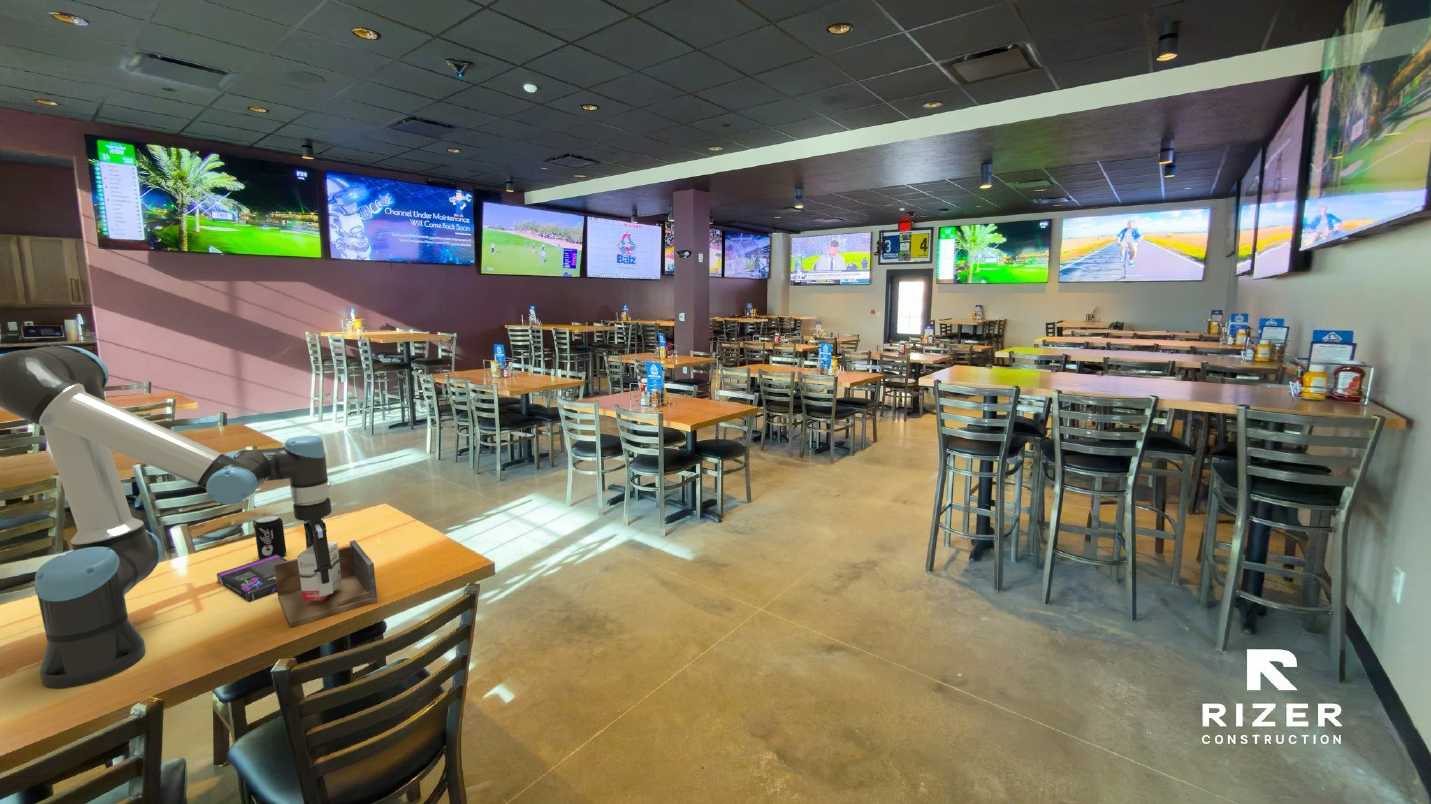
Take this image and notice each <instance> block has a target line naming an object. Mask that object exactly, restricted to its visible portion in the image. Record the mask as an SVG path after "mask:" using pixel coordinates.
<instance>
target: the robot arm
mask: <svg viewBox="0 0 1431 804" xmlns="http://www.w3.org/2000/svg"><path fill="white" fill-rule="evenodd" d="M108 381H109V371H108V368H107V366H106V364H105V363H104V361H103V359H101V358H100V357H98V356H97V355H96V354H94V353H93V352H91V351H88V350H87V349H85V348H81V347H77V346H71V345H49V346H44V347H38V348H32V349H27V350H26V349H21V350H15V351H10V352H7V353H6V352H5V354H1V355H0V408H2V409H3V410H5V411H6V412H9V413H11V414H13V415H15V416H17V417H19V418H21V419H23V420H26V421H28V422H30V423H33V424H36V425H38V426H40V427H42V429H43V432H44V434H45V438H46V440H47V444H48V446H49V450H50V453H51V456H52V458H53V463H54V465H55V468H56V470H57V473H58V476H59V479H60V482H61V484H62V487H63V491H64V493H65V497H66V500H67V503H68V506H69V508H70V512H71V514H72V517H73V520H74V523H75V526H76V529H77V531H76V533H75V535H73V537H72V538H71V539H70V544H71V547H72V551H68V552H65V554H63V555H62V554H61V555H57V556H55V557H53V558H52V559H49V560H48V561H46V562H45V563H43V564H42V565H41V566H39V568H38V569H37V571H36V572H35V575H34V580H35V582H34V583H35V585H34V589H35V590H34V591H35V594H36V596H37V601H38V605H39V609H40V615H41V618H42V624H43V628H44V634H45V638H46V646H45V649H44V654H43V658H42V661H41V665H40V669H39V675H40V680H41V684H42V685H43V686H45V687H46V688H47V687H48V688H54V689H59V688H61V689H62V688H63V689H64V688H70V687H71V688H72V687H76V686H82V685H86V684H89V683H90V684H91V683H93V682H96V681H100V680H102V679H106V678H108V677H110V676H113V675H115V674H117V673H119V672H120V673H121V672H122V671H124V670H125V669H128V668H130V667H131V666H133V665H134V664H136V663H137V662H139V660H141V659H142V658H143V657H144V655H145V653H146V651H147V648H146V643H145V640H144V638H143V637H142V636H141V634H140V633H139V631H138V630H137V628H135V626H134V625H133V623H132V622H131V620H130V619H129V616H128V615H129V614H128V609H127V604H126V598H125V595H126V594H127V593H129V592H130V591H131V590H132V589H134V588H135V587H136V585H138V584H139V583H140V582H142V581H143V580H145V579H147V578H148V577H149V576H150V575H151V574H152V573H153V572H154V570H155V569H156V567H157V566H158V565H159V563H160V561H161V559H162V555H163V546H162V543H161V541H160V539H159V537H158V536H157V535H155V533H153V532H149V530H147V529H146V527H145V523H144V521H143V520H141V519H139V518H135V517H134V516H133V515H132V513H131V510H130V506H129V503H128V500H127V497H126V495H125V490H124V488H123V485H122V481H121V478H120V474H119V472H118V468H117V465H116V462H115V459H114V455H113V453H112V450H113V451H116V453H117V452H118V453H120V454H123V455H125V456H127V457H128V458H132V459H134V460H137V461H138V462H141V463H144V464H146V465H149V466H151V467H152V468H156V469H158V470H160V471H163V472H164V473H167V474H170V475H173V476H174V477H177V478H180V479H182V480H185V481H187V482H189V483H192V484H194V485H197V486H198V487H201V488H203V489H205V490H206V493H207V495H208V496H209V498H210V499H211V500H212V501H214V502H216V503H218V504H222V505H234V504H237V503H240V502H242V501H244V500H246V499H247V498H249V497H250V496H252V495H253V494H254V493H255V491H257V489H258V488H259V487H261V486H262V485H263V484H264V483H265V482H269V481H281V480H287V479H289V482H290V484H289V485H290V495H291V501H292V502H293V503H294V504H293V505H292V506H293V507H292V508H293V515H294V519H296V520H298V521H302V522H303V529H304V532H305V533H304V535H305V544H306V545H305V546H306V549H307V548H309V547H311V546H312V545H313V549H314V554H315V558H316V564H317V569H316V570H314V573H316V572H317V580H318V588H319V596H320V597H321V596H325V595H328V594H332V593H333V588H332V579H331V571H330V569H332V565H331V561H330V554H329V548H328V542H329V541H328V536H327V532H328V531H327V524H326V522H324V520H323V518H325V517H327V516H329V515H331V513H332V504H331V498H329V497H330V489H329V488H331V487H332V484H331V482H330V483H329V481H328V469H327V457H326V452H325V447H324V442H323V439H322V437H319V436H317V435H302V436H295V437H291V438H288V439H287V440H285V445H284V446H283V447H272V448H259V449H258V448H257V449H240V450H237V451H236V450H234V451H229V452H227V453H225V454H223V453H221V452H220V451H217V450H215V449H213V448H210V447H208V446H206V445H203V444H201V443H200V442H197V441H195V440H193V439H191V438H188V437H186V436H184V435H182V434H180V433H177V432H176V431H173V430H170V429H168V428H166V427H164V426H162V425H159V424H157V423H155V422H152V421H150V420H148V419H146V418H144V417H142V416H139V415H137V414H135V413H132V412H130V411H128V410H126V409H123V408H121V407H120V406H117V405H115V404H112V403H110V402H108V401H107V400H106V398H105V395H104V389H105V388H106V386H107V384H108ZM306 549H305V550H306ZM326 564H327V565H326Z"/></svg>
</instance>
